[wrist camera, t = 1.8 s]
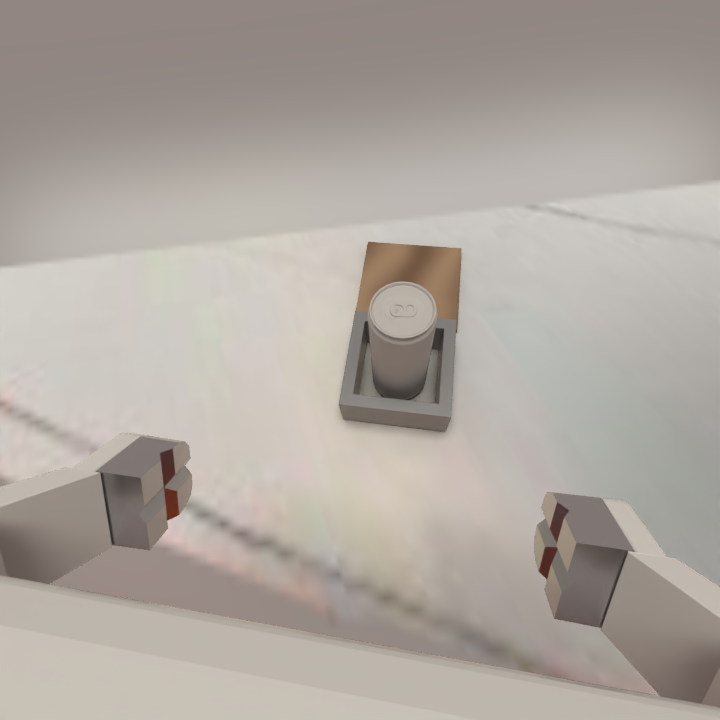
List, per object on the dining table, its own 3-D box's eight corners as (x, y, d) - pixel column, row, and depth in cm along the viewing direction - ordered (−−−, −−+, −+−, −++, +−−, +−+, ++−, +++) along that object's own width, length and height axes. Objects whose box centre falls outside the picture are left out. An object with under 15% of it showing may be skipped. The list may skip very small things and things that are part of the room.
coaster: (460, 252, 45) (461, 248, 45) (456, 333, 41) (457, 329, 40) (368, 245, 46) (368, 241, 46) (354, 323, 42) (354, 320, 42)
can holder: (450, 341, 41) (456, 319, 37) (445, 431, 37) (451, 417, 33) (358, 332, 42) (355, 310, 38) (343, 419, 38) (338, 404, 34)
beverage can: (373, 355, 40) (368, 279, 30) (424, 356, 40) (437, 279, 29) (372, 403, 38) (365, 339, 28) (425, 404, 38) (440, 340, 27)
